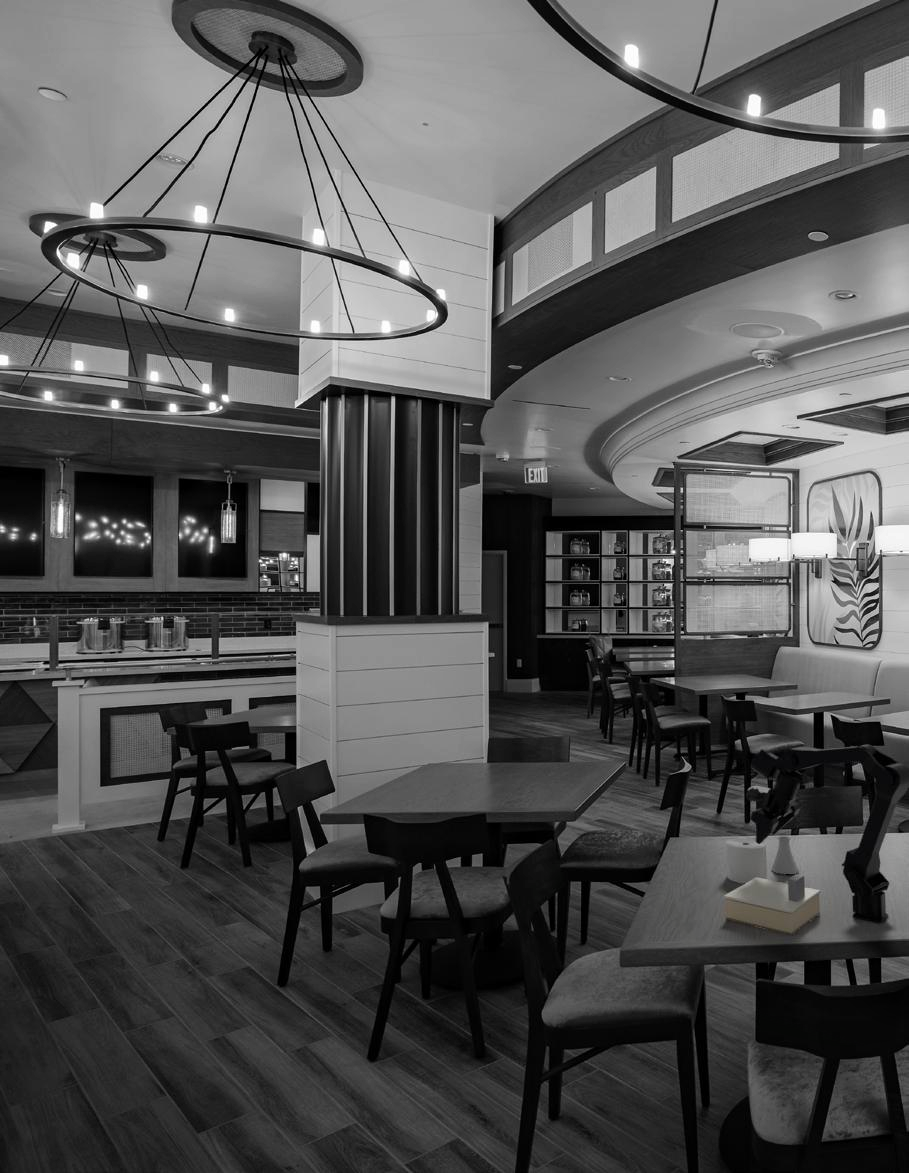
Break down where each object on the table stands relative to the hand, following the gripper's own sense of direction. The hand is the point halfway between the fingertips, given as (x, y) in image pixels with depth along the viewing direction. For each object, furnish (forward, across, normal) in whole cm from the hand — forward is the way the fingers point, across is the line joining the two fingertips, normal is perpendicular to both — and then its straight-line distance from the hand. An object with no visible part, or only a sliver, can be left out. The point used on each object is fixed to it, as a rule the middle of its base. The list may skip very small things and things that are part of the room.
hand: (765, 838), depth 231 cm
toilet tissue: (+16, -4, -2) cm, 17 cm away
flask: (+14, -16, +4) cm, 22 cm away
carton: (+7, +21, +14) cm, 26 cm away
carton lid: (+2, +20, +12) cm, 24 cm away
